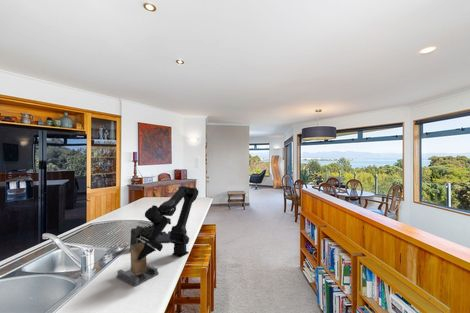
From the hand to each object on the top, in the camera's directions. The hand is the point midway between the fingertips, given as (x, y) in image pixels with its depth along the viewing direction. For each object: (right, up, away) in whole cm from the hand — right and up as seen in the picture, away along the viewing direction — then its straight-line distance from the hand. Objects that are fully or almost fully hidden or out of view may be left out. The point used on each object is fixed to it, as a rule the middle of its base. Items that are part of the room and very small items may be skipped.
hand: (135, 258), depth 105 cm
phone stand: (-13, -9, +33) cm, 37 cm away
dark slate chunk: (-5, -9, +48) cm, 49 cm away
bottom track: (0, -9, +2) cm, 9 cm away
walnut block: (+1, -7, +1) cm, 7 cm away
